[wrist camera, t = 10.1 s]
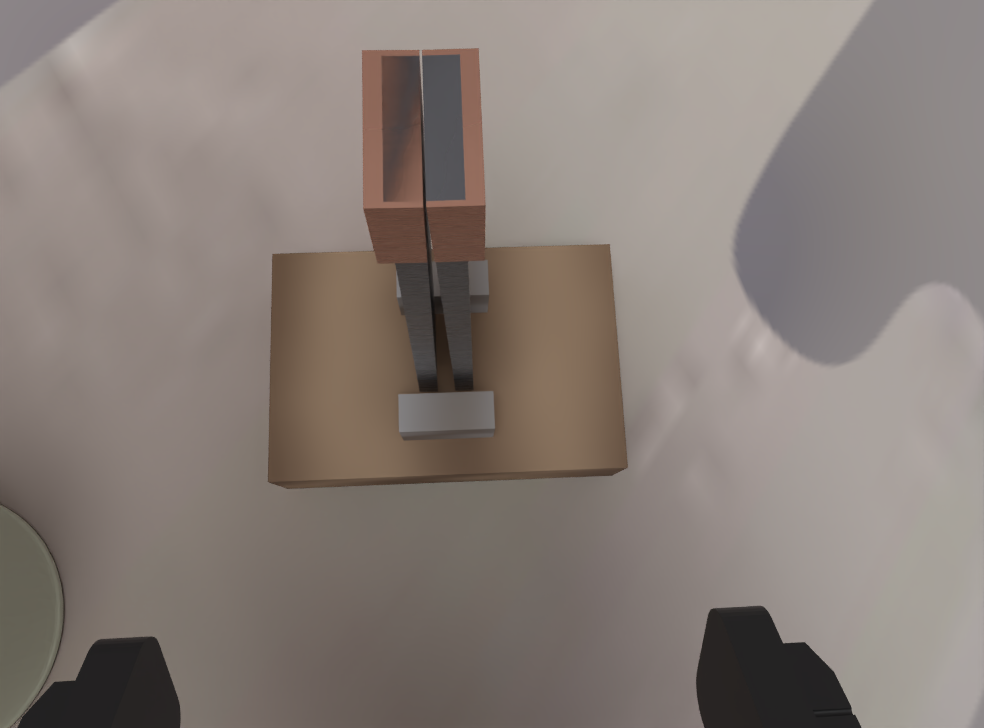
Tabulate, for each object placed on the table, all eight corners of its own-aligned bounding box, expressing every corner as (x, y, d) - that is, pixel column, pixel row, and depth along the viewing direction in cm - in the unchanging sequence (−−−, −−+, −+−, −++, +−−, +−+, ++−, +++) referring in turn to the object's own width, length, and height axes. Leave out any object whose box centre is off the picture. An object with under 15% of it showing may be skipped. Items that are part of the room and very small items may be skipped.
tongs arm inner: (410, 395, 27) (363, 207, 12) (409, 317, 27) (361, 50, 13) (437, 394, 27) (422, 207, 12) (435, 317, 27) (419, 49, 13)
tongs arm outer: (455, 393, 27) (426, 207, 12) (453, 316, 27) (422, 49, 13) (482, 392, 27) (486, 205, 12) (479, 315, 27) (478, 47, 13)
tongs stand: (287, 488, 29) (251, 476, 24) (290, 281, 31) (258, 232, 26) (611, 475, 30) (640, 461, 25) (596, 272, 32) (620, 222, 27)
